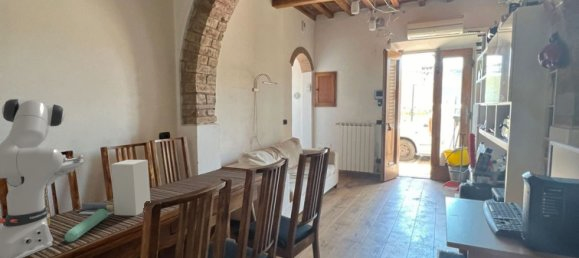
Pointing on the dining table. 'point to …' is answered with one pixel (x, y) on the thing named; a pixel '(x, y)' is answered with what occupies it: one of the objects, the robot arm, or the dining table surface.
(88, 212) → the mat
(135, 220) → the dining table surface
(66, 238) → the mint green rounded rod
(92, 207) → the strut
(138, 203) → the pedestal
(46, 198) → the paper tube
